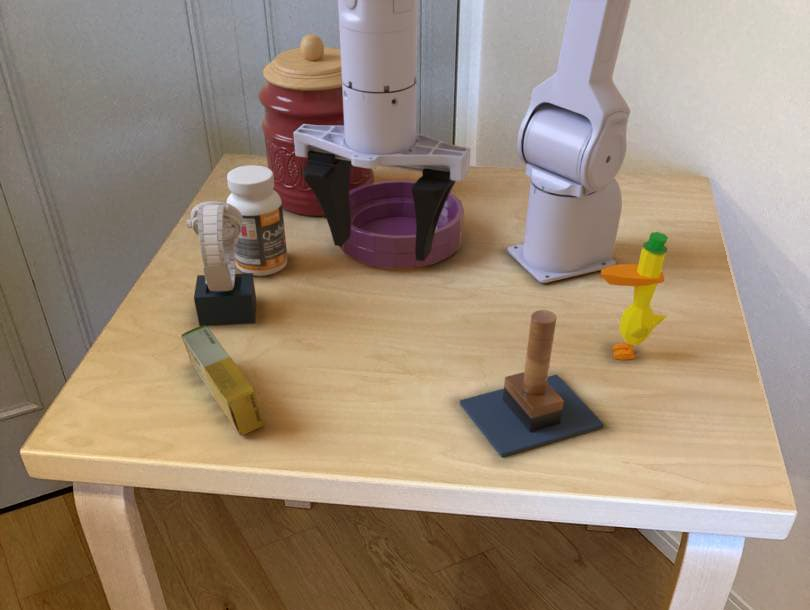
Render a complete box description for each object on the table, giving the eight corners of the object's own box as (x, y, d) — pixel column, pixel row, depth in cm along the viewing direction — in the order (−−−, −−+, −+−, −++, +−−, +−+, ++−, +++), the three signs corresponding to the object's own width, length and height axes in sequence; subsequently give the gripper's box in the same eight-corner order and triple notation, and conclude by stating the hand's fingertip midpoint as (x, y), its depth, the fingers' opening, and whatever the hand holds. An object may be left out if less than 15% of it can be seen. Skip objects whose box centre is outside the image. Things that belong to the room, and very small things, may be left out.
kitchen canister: (248, 200, 103) (226, 39, 90) (314, 164, 110) (303, 10, 98) (331, 228, 98) (320, 62, 85) (395, 189, 105) (394, 30, 92)
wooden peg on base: (531, 392, 75) (544, 297, 69) (560, 423, 72) (576, 328, 65) (502, 400, 75) (512, 305, 68) (529, 432, 71) (543, 336, 65)
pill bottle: (279, 280, 90) (268, 188, 82) (228, 275, 90) (213, 183, 83) (294, 255, 94) (285, 165, 86) (245, 250, 94) (232, 160, 87)
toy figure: (588, 363, 79) (611, 243, 71) (584, 342, 82) (606, 223, 73) (659, 366, 79) (691, 246, 70) (654, 344, 81) (684, 226, 73)
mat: (556, 377, 78) (556, 373, 77) (603, 427, 73) (604, 424, 72) (459, 403, 75) (459, 400, 75) (501, 457, 70) (501, 453, 70)
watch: (257, 290, 88) (242, 187, 80) (254, 333, 83) (238, 226, 75) (203, 293, 88) (183, 189, 80) (197, 335, 82) (175, 228, 74)
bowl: (429, 205, 102) (430, 172, 99) (482, 257, 93) (485, 223, 90) (320, 226, 98) (317, 192, 95) (364, 283, 89) (363, 248, 86)
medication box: (191, 369, 79) (178, 332, 76) (218, 358, 79) (206, 322, 76) (238, 438, 71) (226, 400, 68) (267, 425, 72) (257, 388, 69)
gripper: (270, 85, 63) (288, 254, 73) (453, 110, 59) (446, 284, 69) (309, 57, 67) (321, 219, 77) (482, 78, 64) (471, 246, 74)
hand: (382, 248), depth 74 cm, fingers open, 7 cm apart
